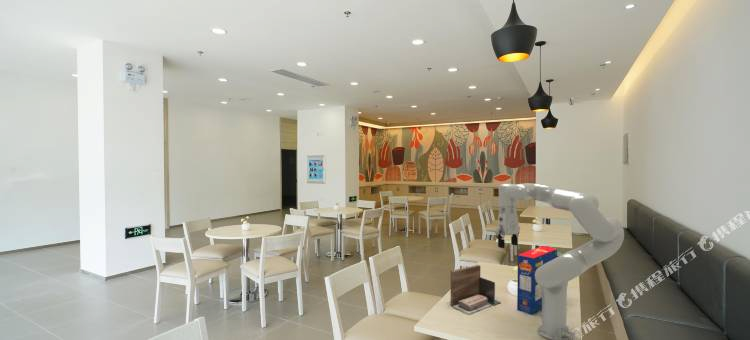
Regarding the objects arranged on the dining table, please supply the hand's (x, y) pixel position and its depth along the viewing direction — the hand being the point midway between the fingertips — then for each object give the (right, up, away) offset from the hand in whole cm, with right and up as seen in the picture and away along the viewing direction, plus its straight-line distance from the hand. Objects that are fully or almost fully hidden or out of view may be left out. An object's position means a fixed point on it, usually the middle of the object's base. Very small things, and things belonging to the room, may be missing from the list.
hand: (508, 246), depth 168 cm
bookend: (-1, -34, +22) cm, 41 cm away
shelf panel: (-15, -34, +21) cm, 43 cm away
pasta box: (+22, -35, +17) cm, 44 cm away
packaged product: (-13, -35, +14) cm, 40 cm away
